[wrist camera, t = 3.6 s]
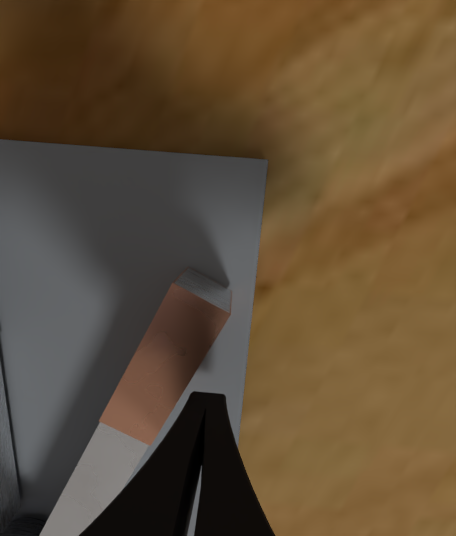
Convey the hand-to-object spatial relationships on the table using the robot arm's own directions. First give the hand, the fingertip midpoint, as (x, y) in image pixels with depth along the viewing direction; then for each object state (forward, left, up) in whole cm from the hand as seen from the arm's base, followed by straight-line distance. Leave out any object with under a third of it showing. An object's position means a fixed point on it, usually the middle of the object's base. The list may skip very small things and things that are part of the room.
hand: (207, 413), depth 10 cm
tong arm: (-6, -4, -2) cm, 7 cm away
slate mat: (-6, -2, -2) cm, 7 cm away
